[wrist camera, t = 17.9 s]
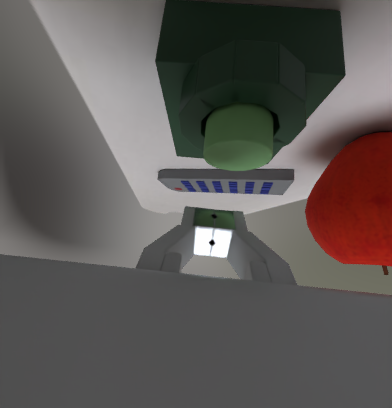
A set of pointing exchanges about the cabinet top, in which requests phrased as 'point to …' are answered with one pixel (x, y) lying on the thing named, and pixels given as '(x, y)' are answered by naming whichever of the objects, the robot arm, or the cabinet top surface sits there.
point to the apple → (355, 203)
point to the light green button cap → (239, 137)
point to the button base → (245, 65)
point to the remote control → (227, 180)
